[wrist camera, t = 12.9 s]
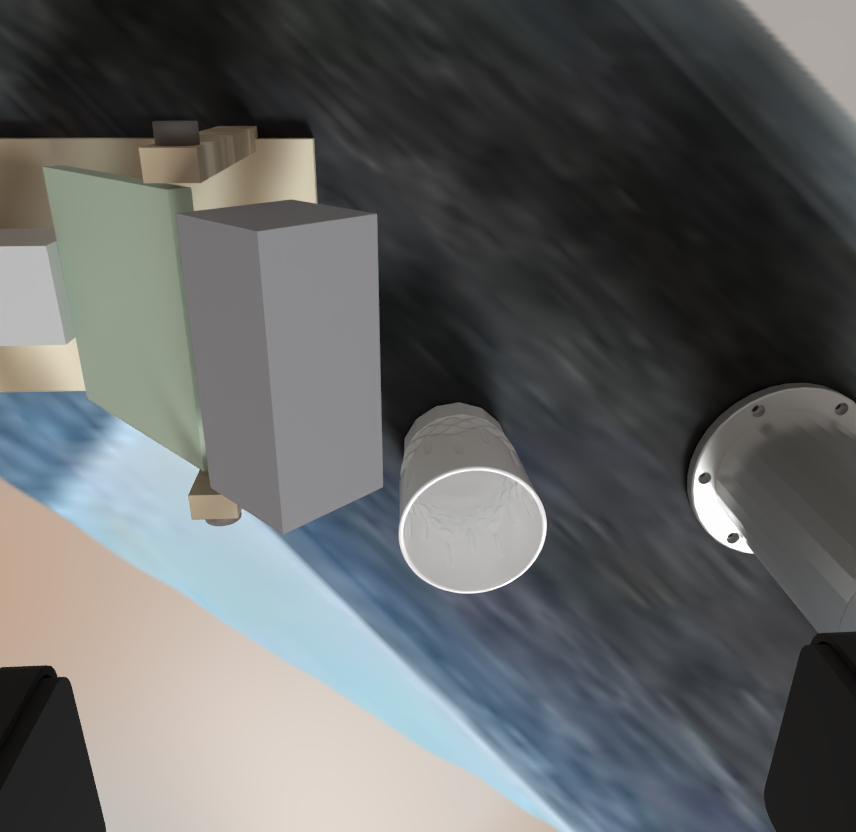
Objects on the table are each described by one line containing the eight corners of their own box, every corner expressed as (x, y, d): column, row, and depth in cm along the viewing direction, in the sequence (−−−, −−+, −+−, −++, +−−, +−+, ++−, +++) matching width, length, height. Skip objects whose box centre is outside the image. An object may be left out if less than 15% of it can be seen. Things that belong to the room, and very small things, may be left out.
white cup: (380, 486, 50) (381, 577, 40) (413, 379, 47) (423, 451, 38) (492, 512, 51) (517, 606, 42) (531, 409, 48) (568, 486, 39)
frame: (312, 110, 40) (281, 123, 26) (327, 400, 47) (309, 531, 33) (-78, 108, 39) (-324, 122, 25) (-4, 407, 46) (-166, 546, 32)
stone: (45, 245, 36) (-62, 247, 36) (66, 344, 38) (-36, 346, 38) (82, 227, 41) (-13, 228, 40) (99, 317, 43) (8, 318, 42)
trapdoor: (376, 199, 26) (255, 214, 23) (383, 497, 31) (284, 546, 28) (122, 161, 38) (20, 168, 35) (156, 379, 43) (68, 403, 40)
